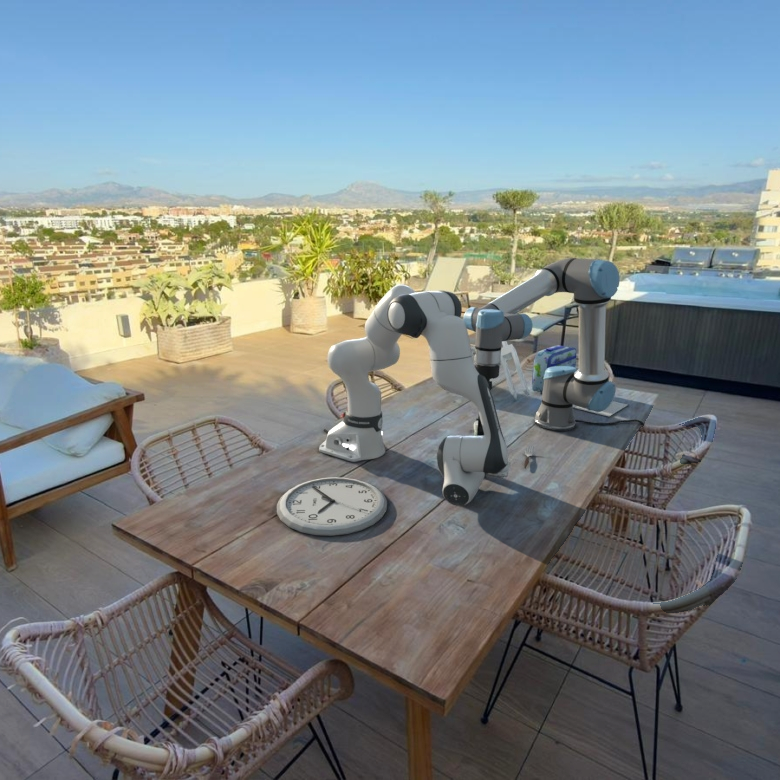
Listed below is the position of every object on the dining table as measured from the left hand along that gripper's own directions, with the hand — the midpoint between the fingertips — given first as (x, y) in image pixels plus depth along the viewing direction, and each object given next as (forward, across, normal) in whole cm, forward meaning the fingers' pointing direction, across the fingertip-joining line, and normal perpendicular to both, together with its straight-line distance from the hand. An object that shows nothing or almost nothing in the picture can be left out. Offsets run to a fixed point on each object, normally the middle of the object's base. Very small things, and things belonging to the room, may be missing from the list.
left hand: (480, 452), depth 162 cm
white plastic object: (+82, +18, +6) cm, 84 cm away
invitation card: (+84, -35, +6) cm, 91 cm away
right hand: (-1, 0, -6) cm, 6 cm away
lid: (-1, 0, -10) cm, 10 cm away
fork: (+14, -13, +6) cm, 20 cm away
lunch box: (+99, -13, +6) cm, 100 cm away
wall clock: (-37, +32, +6) cm, 50 cm away
